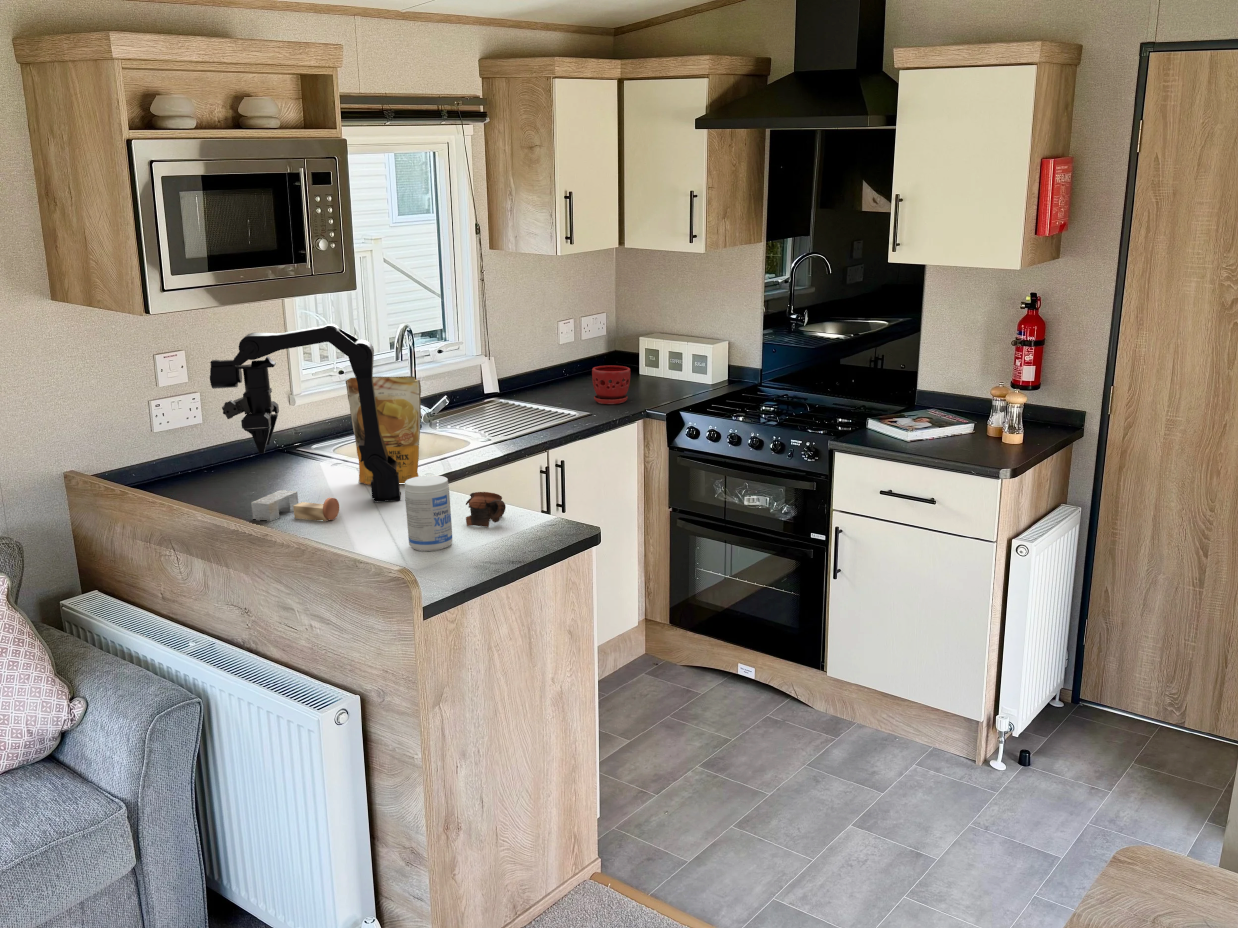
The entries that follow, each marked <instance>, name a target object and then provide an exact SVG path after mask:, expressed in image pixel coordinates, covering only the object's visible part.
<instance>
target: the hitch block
mask: <svg viewBox="0 0 1238 928" xmlns="http://www.w3.org/2000/svg"><path fill="white" fill-rule="evenodd" d="M298 503H299V496H298V491H294V490H283V489H282V490H277V491H275V492H273V493H270V494H267V495H265V496H263V497H261V498H259V499H256V500H254V501H251V502H250V504H251V505H250V506H251V512H252V520H253V519H256V520H255V521H260V520H267V521H266V522H270V521H271V522H273V521H275V520H277V519H279V518H280V514H279V513H280V512H283V513H284V512H285V513H292V512H294V508H293V506H294V505H296V504H298ZM278 517H279V518H278ZM276 518H277V519H276ZM274 519H275V520H274ZM272 520H273V521H272Z"/></svg>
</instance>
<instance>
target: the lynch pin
mask: <svg viewBox="0 0 1238 928" xmlns="http://www.w3.org/2000/svg"><path fill="white" fill-rule="evenodd" d="M293 508H294V511H293V516H294V517H293V518H294V519H297V518H298V519H299V520H307V519H308V520H307V521H317V520H323V521H322V522H327V520H328V521H333V519H334V520H335V519H337V517H338V516H339V513H340V503H339V500H338V499H337V498H335V497H327V498H326V499H325V501H324V502H323V503H316V502H313V503H312V502H305V501H304V502H302V501H301V502H298V504H296V505H294V506H293Z"/></svg>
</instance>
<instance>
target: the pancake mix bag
mask: <svg viewBox="0 0 1238 928" xmlns="http://www.w3.org/2000/svg"><path fill="white" fill-rule="evenodd" d="M344 382H345V385H346V392H347V400H348V404H349V412H350V418H351V423H352V424H351V425H352V430H353V434H354V440H355V448H356V454H357V458H358V469H359V470H358V481H357V482H358V483H360V484H364V485H368V486H371V480H373V473H372V472H371V471H369V470H368V469H366V468H365V466H364V463H363V461H362V462H360V461H361V453H360V450H359V443H360V440H363V441H364V440H365V433H364V426H363V419H362V412H361V405H360V398H359V391H358V384H357V380H356V377H350V378H349V379H347V380H345V381H344ZM373 384H374V392H375V399H376V406H377V413H378V420H379V428H380V432H381V435H382V437H383V440H384V442H385V445H386V448H387V451H388V455H389V456H391V457H392V458H393V459H394V460H396V461H397V469H396V472H399V483H405V481H406V480H408V479H410V478H414V477H419V476H420V475H419V473H418V471H419V459H420V441H421V440H420V438H421V437H420V436H421V435H420V434H421V419H422V411H421V404H422V403H421V400H422V399H421V394H422V386H421V380H420V379H416V376H410V375H408V376H373Z"/></svg>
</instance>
